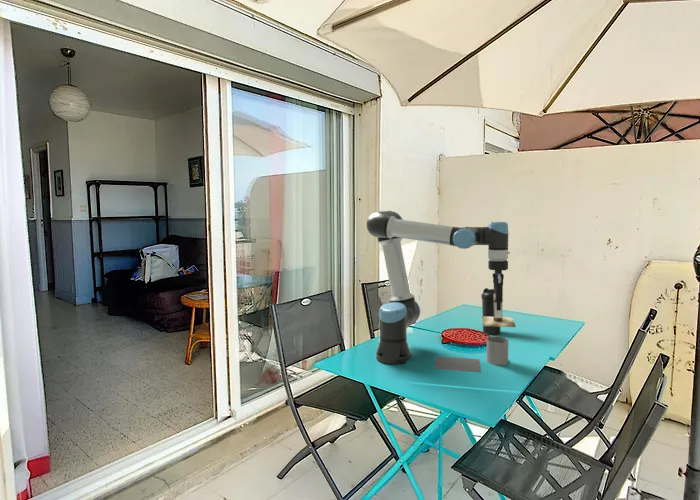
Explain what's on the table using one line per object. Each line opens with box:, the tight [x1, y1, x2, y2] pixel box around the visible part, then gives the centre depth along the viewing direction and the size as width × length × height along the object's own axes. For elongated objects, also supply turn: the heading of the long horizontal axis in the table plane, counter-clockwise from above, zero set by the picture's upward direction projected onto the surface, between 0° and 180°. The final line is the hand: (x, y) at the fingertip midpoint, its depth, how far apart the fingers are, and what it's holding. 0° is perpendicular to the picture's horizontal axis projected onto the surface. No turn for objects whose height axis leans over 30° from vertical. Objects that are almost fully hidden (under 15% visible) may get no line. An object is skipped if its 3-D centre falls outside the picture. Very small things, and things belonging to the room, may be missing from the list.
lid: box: [481, 294, 516, 328], centre depth 163 cm, size 12×12×12 cm
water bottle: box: [481, 287, 501, 336], centre depth 205 cm, size 10×10×23 cm
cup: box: [485, 335, 509, 366], centre depth 165 cm, size 8×8×10 cm
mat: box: [433, 355, 482, 373], centre depth 164 cm, size 18×14×1 cm
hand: (497, 316), depth 164 cm, fingers closed on lid, 3 cm apart
